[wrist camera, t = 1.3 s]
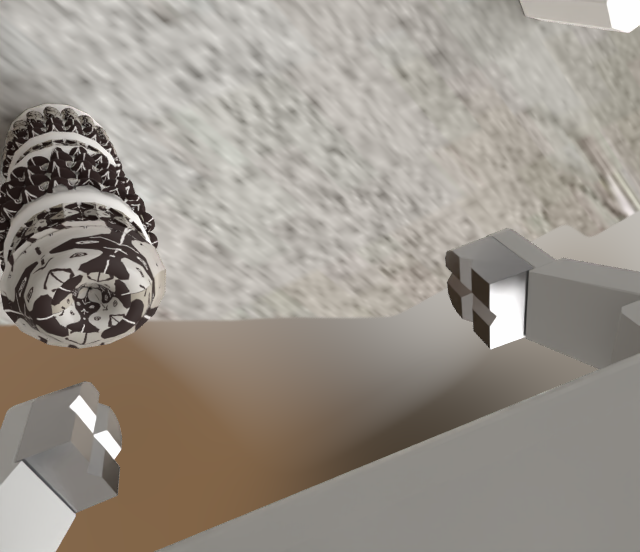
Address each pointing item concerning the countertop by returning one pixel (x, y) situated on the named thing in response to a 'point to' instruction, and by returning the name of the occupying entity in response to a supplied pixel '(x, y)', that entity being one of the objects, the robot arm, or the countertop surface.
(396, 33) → the countertop surface
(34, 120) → the decorative candle
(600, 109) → the countertop surface
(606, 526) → the robot arm
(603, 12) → the toilet paper
